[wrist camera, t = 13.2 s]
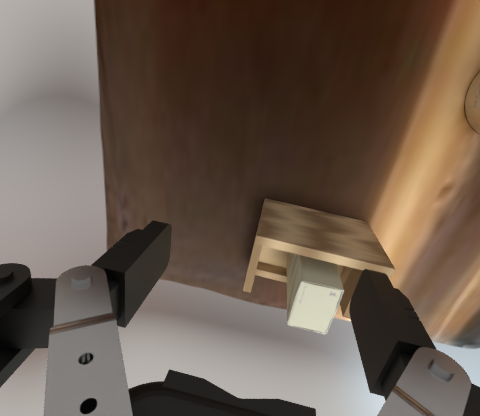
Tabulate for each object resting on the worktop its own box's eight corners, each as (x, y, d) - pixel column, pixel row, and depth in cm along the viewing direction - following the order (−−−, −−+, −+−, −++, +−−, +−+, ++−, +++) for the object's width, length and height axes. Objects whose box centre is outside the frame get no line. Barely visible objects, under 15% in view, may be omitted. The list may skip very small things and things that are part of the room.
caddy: (367, 221, 38) (395, 269, 28) (341, 284, 42) (358, 344, 32) (264, 198, 39) (256, 235, 29) (249, 261, 43) (237, 312, 33)
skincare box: (297, 224, 39) (300, 278, 28) (329, 231, 39) (346, 289, 27) (286, 262, 41) (284, 325, 30) (316, 269, 41) (326, 336, 30)
